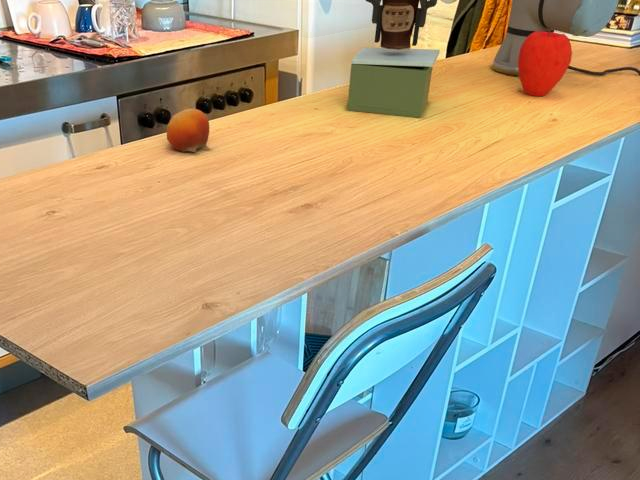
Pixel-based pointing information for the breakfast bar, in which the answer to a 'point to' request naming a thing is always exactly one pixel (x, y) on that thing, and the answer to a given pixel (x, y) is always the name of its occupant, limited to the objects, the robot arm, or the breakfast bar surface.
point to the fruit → (188, 130)
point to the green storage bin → (389, 89)
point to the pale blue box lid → (396, 57)
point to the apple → (543, 61)
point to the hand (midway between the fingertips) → (395, 42)
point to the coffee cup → (398, 23)
